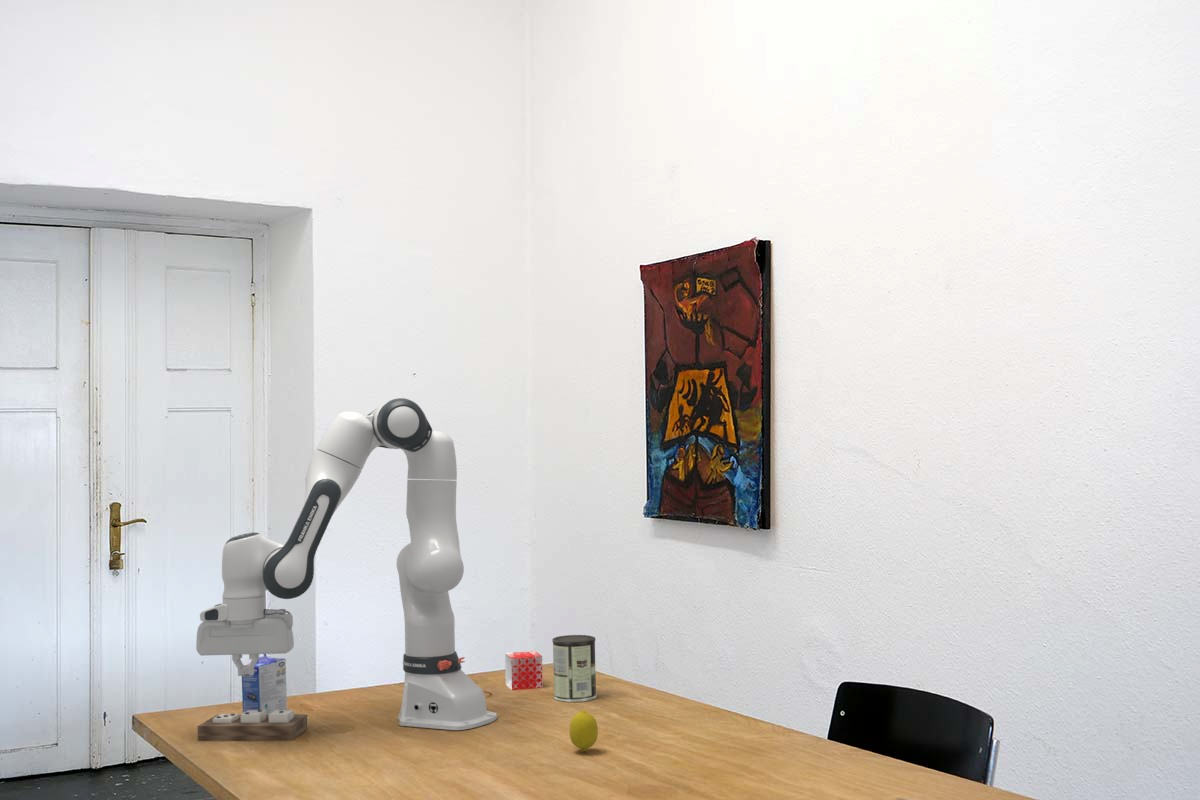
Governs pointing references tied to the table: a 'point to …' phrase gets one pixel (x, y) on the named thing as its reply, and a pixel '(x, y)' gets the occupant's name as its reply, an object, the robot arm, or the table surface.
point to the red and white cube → (523, 670)
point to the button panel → (252, 730)
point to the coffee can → (574, 668)
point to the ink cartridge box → (265, 686)
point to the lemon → (583, 730)
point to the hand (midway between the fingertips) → (246, 675)
